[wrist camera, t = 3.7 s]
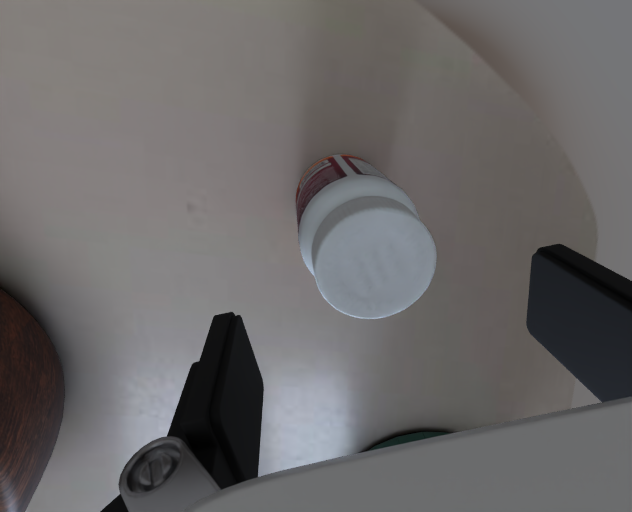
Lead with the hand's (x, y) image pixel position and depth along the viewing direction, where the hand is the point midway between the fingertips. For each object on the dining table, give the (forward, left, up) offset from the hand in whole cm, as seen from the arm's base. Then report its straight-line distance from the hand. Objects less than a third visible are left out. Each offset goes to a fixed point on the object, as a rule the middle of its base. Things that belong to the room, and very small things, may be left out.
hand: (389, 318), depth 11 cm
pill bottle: (0, 0, -15) cm, 15 cm away
